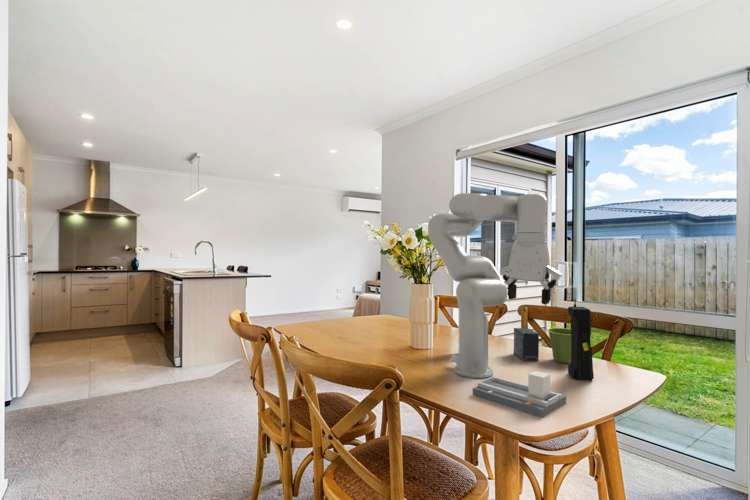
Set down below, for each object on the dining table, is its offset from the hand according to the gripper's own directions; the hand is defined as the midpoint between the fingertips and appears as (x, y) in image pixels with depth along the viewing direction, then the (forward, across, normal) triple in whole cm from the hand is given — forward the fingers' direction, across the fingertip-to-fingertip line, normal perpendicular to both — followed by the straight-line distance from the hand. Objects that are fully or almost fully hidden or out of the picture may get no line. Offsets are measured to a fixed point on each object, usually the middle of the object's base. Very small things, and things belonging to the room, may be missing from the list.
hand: (528, 301), depth 109 cm
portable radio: (+28, +3, +30) cm, 41 cm away
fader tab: (+25, +6, -3) cm, 25 cm away
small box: (+29, -21, +40) cm, 53 cm away
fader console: (+27, 0, -3) cm, 27 cm away
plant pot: (+28, -9, +46) cm, 55 cm away
